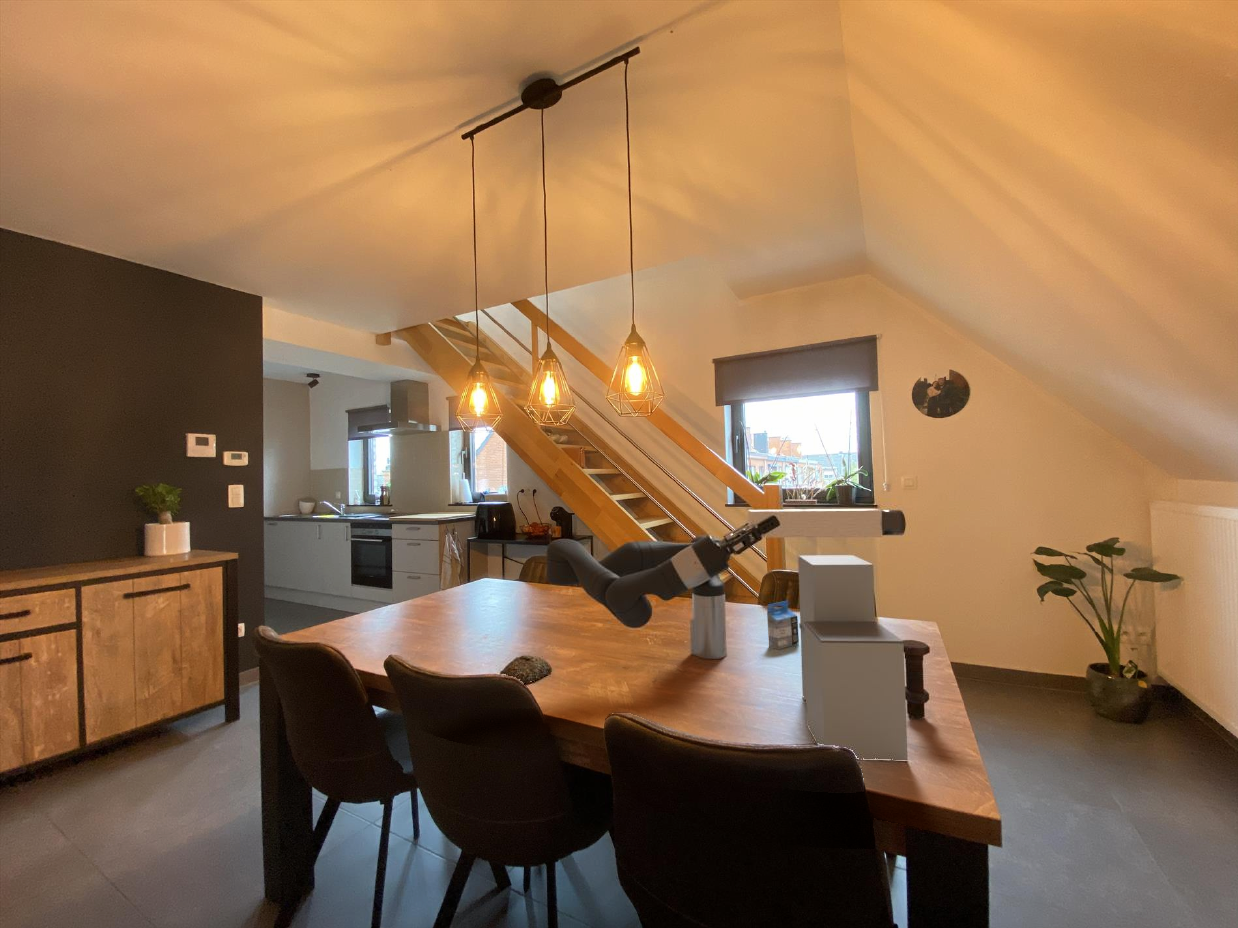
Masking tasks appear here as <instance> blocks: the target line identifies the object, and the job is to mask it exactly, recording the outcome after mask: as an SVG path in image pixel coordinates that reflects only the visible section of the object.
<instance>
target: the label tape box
mask: <svg viewBox="0 0 1238 928" xmlns="http://www.w3.org/2000/svg"><path fill="white" fill-rule="evenodd" d="M766 607H767V611H766V612H767V613H766V616H767V630H768V631H767V633H768V634H767V635H768V646H769V647H770V648H773V649H775V650H782V649H785V648H788V647H791V646H795V645H799V643H800V641H799V640H800V638H799V620H798V618H799V617H798V615H797V614H795V613H794V612H793V611H792V610H791V609H790V608H788V607H789V600H784V601H779V602H774V603H770V604H767V606H766ZM777 607H778V608H777Z"/></svg>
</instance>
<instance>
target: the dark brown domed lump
mask: <svg viewBox="0 0 1238 928" xmlns="http://www.w3.org/2000/svg"><path fill="white" fill-rule="evenodd" d="M552 672H553V668H552V666H551V665H550V663H549V662H548V661H547V660H545V659H543V658H541V657H538V656H533V655H526V654H525V655H521V656H516V657H515V658H514V659H513V660H512V661H510V662H509V663H508V664H506V666H505V667H504V668H503V669H502V670H500V671H499V673H500V674H506V675H508V676H513V677H516V678H517V679H520V681H522V682H523V683H526V684H525V685H528V684H530V683H529V682H530V681H534V682H535V680H536V681H538V680H537V679H539V680H541V679H542V678H541V677H543V678H544V676H545V677H547V676H548V674H549V675H550V674H551V673H552ZM500 674H499V675H500ZM546 675H547V676H546ZM540 678H541V679H540ZM527 683H528V684H527Z"/></svg>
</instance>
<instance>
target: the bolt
mask: <svg viewBox="0 0 1238 928" xmlns="http://www.w3.org/2000/svg"><path fill="white" fill-rule="evenodd" d="M901 640H902V641H903V643H904V666H905V699H906V715H908V717H910V718H913V719H915V720H919V719H923V718H925V717H926V715H925V711H926V710H925V704H927V703H928V701H929V700H930V693H929V692H928V691H927V690H926V689H925V687H924V685H925V684H924V656H926V655H928V654H930V652H931V649H930V646H929V645H928V644H926V643H925V642H923V641H919V640H915V639H901Z"/></svg>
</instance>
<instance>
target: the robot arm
mask: <svg viewBox="0 0 1238 928" xmlns="http://www.w3.org/2000/svg"><path fill="white" fill-rule="evenodd" d="M778 526H780V522H779V521H778V519H777V517H776V516H771V517H769V518H767V519H766V520H764V521H762V522H761V523H759V524H758V525H754V526H753V527H751V528H749V529H748V522H746V523H745V524H743V525H741V526H739V527H737V528H735V529H734V530H732V531H730V532H727V533H725V534H724V535H722V537H723V539H719V538H717V537H714V536H712V535H711V534H707V535H698V536H695V537H693V539H691V541H690V542H688V543H687V542H685V543H684V542H683V543H679V542H678V543H677V542H672V541H671V542H670V541H662V540H661V541H659V540H639V541H629V542H627V543H623V544H622V545H620V546H619V547H617V548H616V549H615V550H613V551H612V552H611V553H609V554H608V555H607V556H605V557H603V559H601V560H598V561H597V560H596V559H595V558H594V556H592V554H591V553H590V552H589V551H588V550H587V549H586V548H585V547H584V545H583V544H581V543H580V542H578V541H577V540H575V539H570V538H558V539H554V540H551V541H550V542H549V543H548V545H547V548H546V557H545V558H546V562H545V563H546V564H545V565H546V566H545V568H546V569H545V571H546V572H545V573H546V574H545V577H546V581H547V582H548V584H551V585H554V586H572V585H581V587H582V589H583V590H584V592H585V593H586V594H587V595H588V596H589V597H590V598H592V599H593V600H595V601H596V602H597V603H599V604H600V605H602V606H603V607H605V608H606V609H607V610H608V611H609V612H610V613H611V614H612V616H614V617H615V618H616V619H617V620H618V621H619V622H620V623H621V624H622V625H624V626H625V627H627V628H631V629H637V628H642V627H643V626H646V625H647V624H648V623H649V621H650V620H651V618H652V616H653V606H652V603H651V601H650V600H649V598H648V597H647V595H651V594H652V595H654V596H657V597H658V598H659V599H661V600H662V601H664V602H668V601H670V600H673V599H675V598H676V597H678V596H680V595H682V594H684V593H685V592H687V591H689V590H691V594H692V595H691V596H692V597H691V599H692V618H691V619H690V620H689V623H690V624H689V626H690V627H689V632H690V635H689V636H690V654H691V655H694V656H696V657H698V658H701V659H706V660H718V659H722V658H724V657H726V656H727V653H728V652H727V650H728V646H727V618H726V617H727V616H726V615H727V614H726V587H725V586H726V585H725V583H724V581H723V580H722V579H721V578H720V576H719V574H722V573H723V572H725V571H727V570H728V569H729V568H730V564H729V561H730V558H731V555H734V556H738V555H741V554H742V553H743V552H745V551H746V550H748V549H749V548H751V547H752V546H754V545H755V544H757V543H759V542H760V541H762V540H763V538H764V537H763V536H764V535H763V534H766V533H768V532H769V531H771V530H773V529H775V528H776V527H778ZM751 533H752V535H753V536H754V537H751V536H750V534H751Z"/></svg>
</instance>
